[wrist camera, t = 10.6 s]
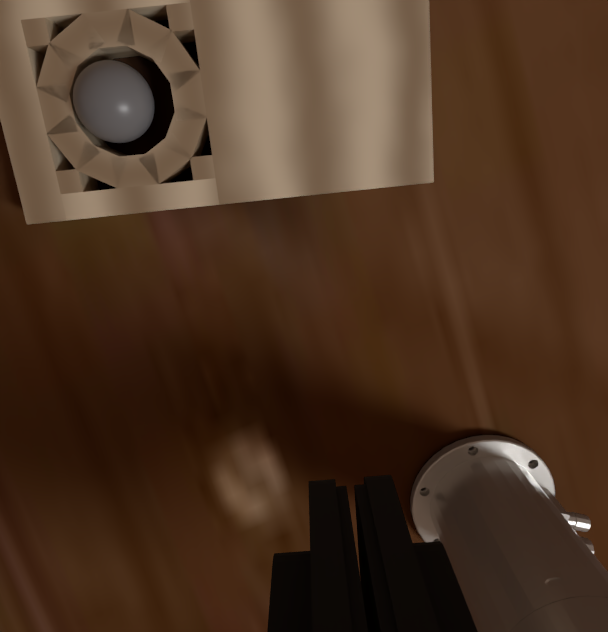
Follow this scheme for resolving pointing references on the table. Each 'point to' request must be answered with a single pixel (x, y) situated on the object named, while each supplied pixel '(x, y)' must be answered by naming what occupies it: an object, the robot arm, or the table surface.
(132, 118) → the ball
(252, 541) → the table surface
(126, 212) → the beige flat board
